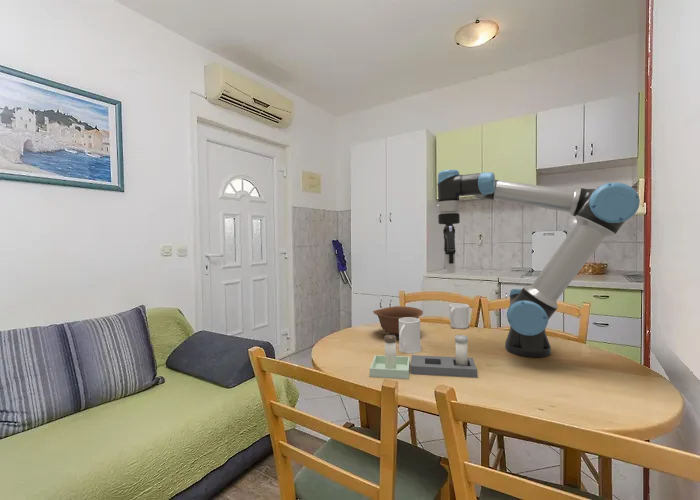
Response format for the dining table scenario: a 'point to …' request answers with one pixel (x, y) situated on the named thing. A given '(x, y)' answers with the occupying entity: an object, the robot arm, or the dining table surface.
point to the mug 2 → (459, 315)
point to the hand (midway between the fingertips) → (449, 270)
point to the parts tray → (400, 372)
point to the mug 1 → (409, 335)
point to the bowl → (395, 317)
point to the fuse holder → (446, 362)
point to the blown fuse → (390, 351)
